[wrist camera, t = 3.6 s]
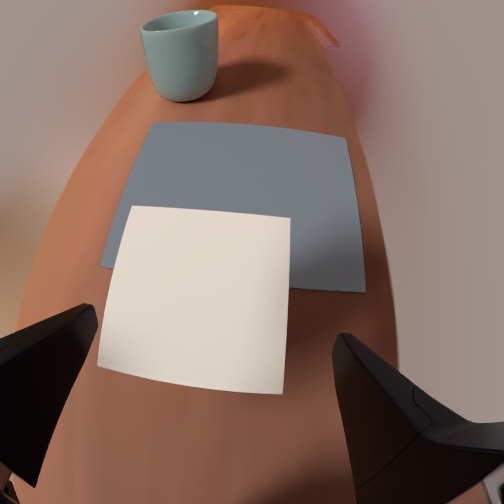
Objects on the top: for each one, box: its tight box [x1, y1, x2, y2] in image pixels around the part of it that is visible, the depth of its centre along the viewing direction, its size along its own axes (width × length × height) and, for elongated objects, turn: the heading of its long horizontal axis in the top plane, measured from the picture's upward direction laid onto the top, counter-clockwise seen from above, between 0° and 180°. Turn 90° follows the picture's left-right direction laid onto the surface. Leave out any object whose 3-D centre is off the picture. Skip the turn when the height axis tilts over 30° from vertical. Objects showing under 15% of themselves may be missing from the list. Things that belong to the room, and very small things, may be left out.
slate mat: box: [100, 122, 366, 293], centre depth 22 cm, size 16×20×1 cm
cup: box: [140, 10, 219, 102], centre depth 23 cm, size 8×8×10 cm
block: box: [97, 206, 290, 394], centre depth 11 cm, size 4×4×12 cm
